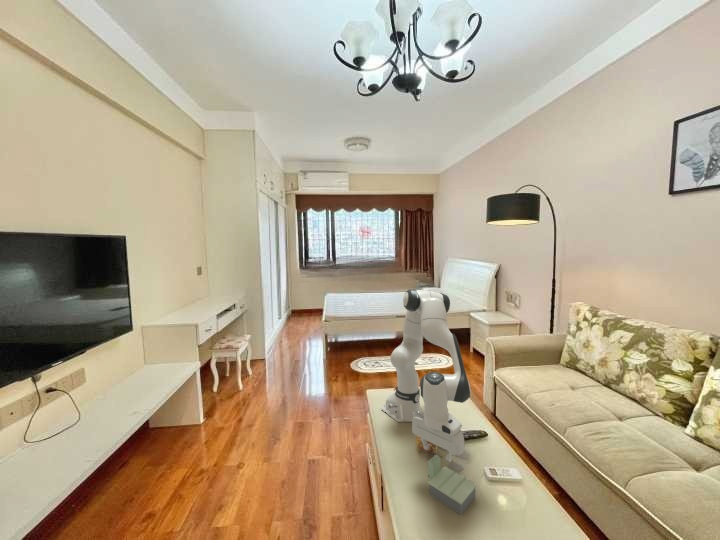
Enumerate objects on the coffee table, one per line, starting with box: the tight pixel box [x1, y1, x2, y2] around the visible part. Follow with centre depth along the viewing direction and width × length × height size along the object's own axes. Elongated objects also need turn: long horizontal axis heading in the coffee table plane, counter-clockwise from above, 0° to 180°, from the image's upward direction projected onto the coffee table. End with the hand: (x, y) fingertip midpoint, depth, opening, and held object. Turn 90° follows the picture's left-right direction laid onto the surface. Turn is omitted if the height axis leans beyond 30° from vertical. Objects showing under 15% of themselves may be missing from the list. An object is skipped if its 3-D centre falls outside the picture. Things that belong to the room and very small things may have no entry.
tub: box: [429, 484, 476, 516], centre depth 109 cm, size 12×10×5 cm
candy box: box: [415, 435, 438, 455], centre depth 134 cm, size 9×4×15 cm, turn 68°
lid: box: [427, 454, 477, 504], centre depth 109 cm, size 15×11×6 cm
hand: (437, 454), depth 113 cm, fingers open, 8 cm apart
